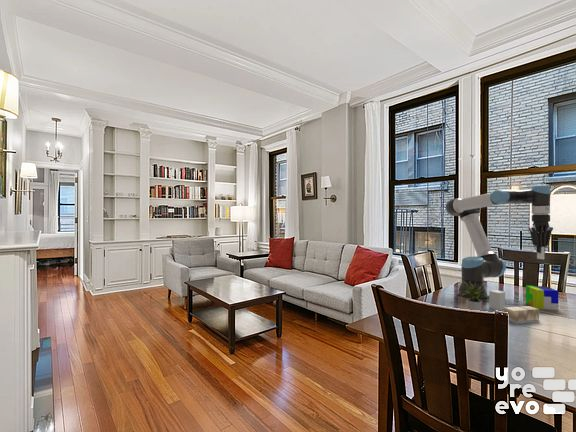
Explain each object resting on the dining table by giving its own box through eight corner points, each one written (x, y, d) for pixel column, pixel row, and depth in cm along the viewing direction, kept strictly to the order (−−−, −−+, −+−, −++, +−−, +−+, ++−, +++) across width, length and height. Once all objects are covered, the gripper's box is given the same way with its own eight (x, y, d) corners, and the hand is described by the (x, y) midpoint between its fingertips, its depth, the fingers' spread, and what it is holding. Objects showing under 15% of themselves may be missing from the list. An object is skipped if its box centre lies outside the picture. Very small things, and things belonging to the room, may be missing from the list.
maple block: (529, 306, 149) (504, 307, 147) (539, 309, 144) (513, 310, 142) (529, 316, 149) (504, 317, 147) (539, 319, 144) (513, 321, 142)
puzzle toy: (558, 309, 159) (558, 290, 159) (536, 308, 161) (536, 290, 161) (546, 304, 169) (546, 286, 169) (525, 303, 171) (525, 285, 171)
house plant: (449, 309, 161) (449, 278, 161) (468, 306, 166) (468, 276, 166) (474, 317, 148) (474, 284, 148) (494, 314, 153) (494, 281, 152)
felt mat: (521, 315, 150) (521, 315, 150) (539, 322, 142) (539, 321, 142) (500, 317, 149) (500, 316, 149) (517, 323, 140) (517, 323, 140)
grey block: (489, 307, 164) (489, 290, 164) (495, 306, 166) (495, 289, 166) (499, 310, 159) (499, 293, 159) (505, 309, 161) (505, 292, 161)
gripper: (537, 214, 156) (536, 260, 156) (558, 214, 158) (558, 259, 158) (523, 214, 164) (523, 258, 164) (544, 214, 166) (544, 257, 166)
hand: (540, 258), depth 161 cm, fingers closed
